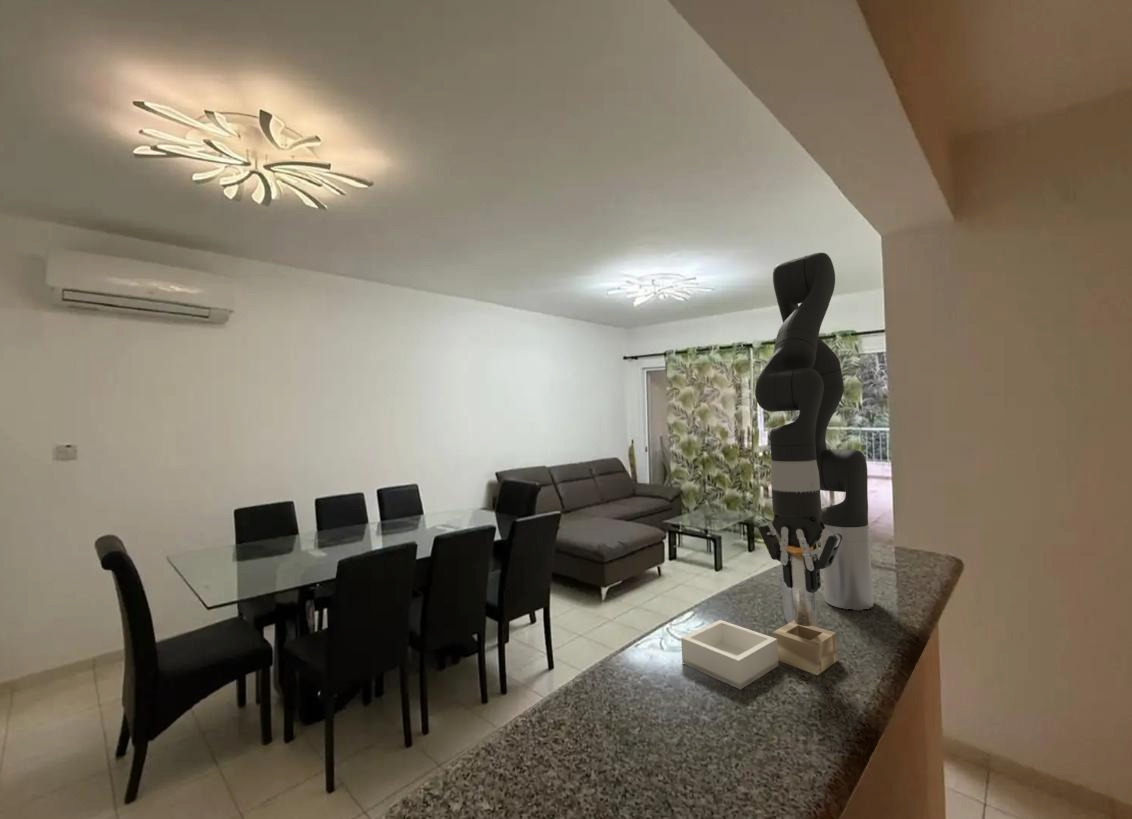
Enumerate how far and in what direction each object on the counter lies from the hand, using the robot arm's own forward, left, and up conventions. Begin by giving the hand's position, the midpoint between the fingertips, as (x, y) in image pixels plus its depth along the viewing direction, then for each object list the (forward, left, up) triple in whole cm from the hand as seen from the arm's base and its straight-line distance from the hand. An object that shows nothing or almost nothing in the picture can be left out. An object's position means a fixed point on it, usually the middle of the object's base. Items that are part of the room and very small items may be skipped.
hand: (801, 588), depth 82 cm
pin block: (0, 0, -12) cm, 12 cm away
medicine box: (-12, -7, -12) cm, 18 cm away
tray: (+11, -7, -12) cm, 18 cm away
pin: (0, 0, -6) cm, 6 cm away
